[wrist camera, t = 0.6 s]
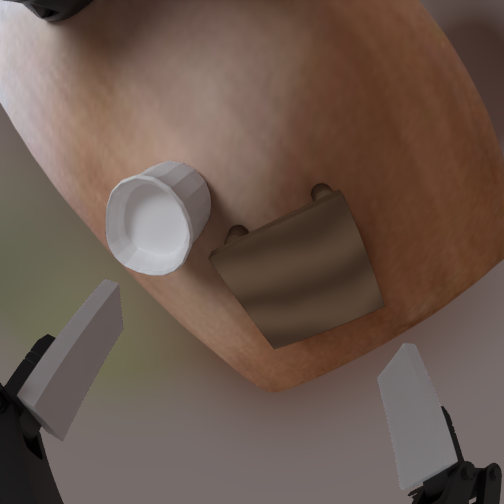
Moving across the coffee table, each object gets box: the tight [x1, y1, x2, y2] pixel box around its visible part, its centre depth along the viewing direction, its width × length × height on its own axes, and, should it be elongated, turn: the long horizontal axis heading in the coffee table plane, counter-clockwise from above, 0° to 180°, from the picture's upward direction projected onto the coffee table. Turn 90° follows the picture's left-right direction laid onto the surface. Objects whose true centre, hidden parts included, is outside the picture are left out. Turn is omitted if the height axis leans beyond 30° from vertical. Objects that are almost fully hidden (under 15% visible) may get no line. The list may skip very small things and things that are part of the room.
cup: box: [106, 160, 211, 275], centre depth 28 cm, size 10×10×10 cm
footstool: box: [209, 183, 385, 349], centre depth 31 cm, size 14×14×8 cm
